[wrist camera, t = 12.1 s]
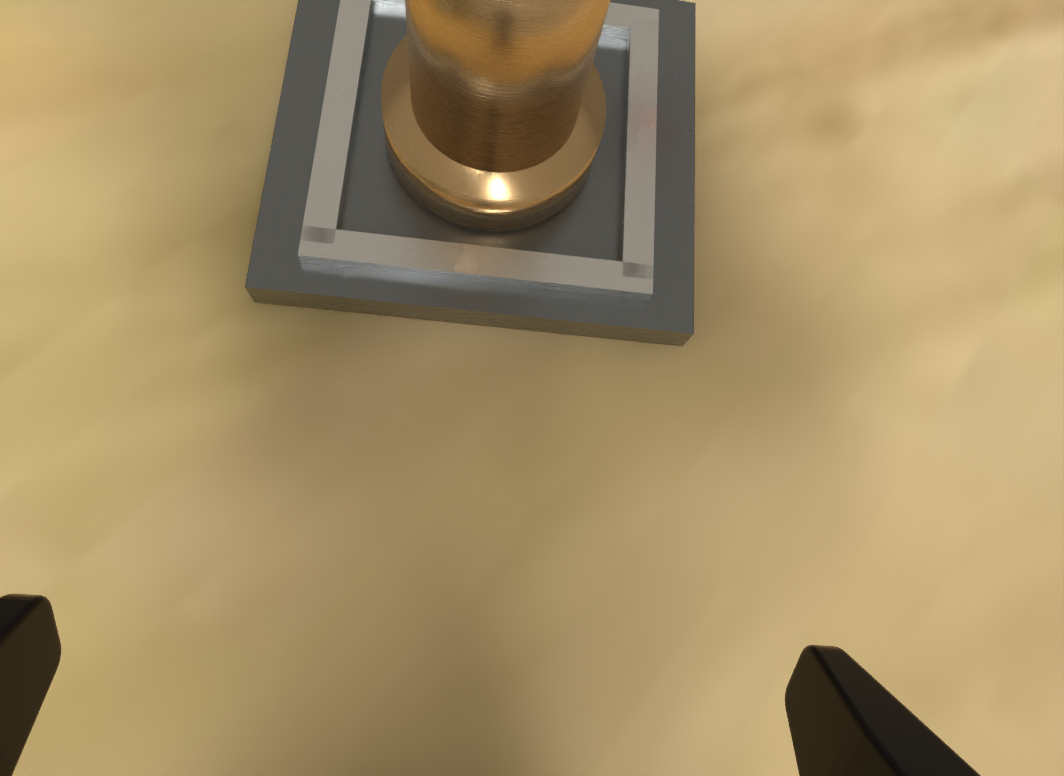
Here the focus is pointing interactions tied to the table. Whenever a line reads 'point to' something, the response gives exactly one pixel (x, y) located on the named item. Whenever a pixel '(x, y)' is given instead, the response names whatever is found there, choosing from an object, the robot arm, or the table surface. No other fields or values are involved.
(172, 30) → the table surface
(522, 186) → the amber cylindrical piece
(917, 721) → the robot arm
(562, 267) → the press bed
